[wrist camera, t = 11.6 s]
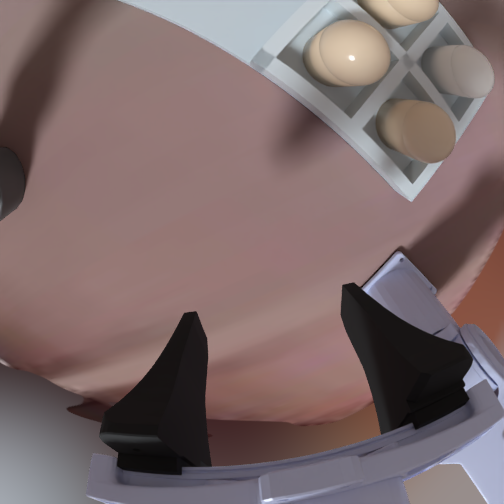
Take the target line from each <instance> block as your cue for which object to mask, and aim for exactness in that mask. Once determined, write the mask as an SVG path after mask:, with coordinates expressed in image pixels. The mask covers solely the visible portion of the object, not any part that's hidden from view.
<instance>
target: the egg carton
mask: <svg viewBox="0 0 504 504" xmlns="http://www.w3.org/2000/svg"><path fill="white" fill-rule="evenodd" d="M118 1H121V2H123V3H126V4H129V5H132V6H134V7H137V8H139V9H142V10H144V11H147V12H149V13H151V14H154V15H156V16H158V17H161V18H163V19H165V20H167V21H169V22H172V23H174V24H176V25H178V26H180V27H182V28H184V29H186V30H188V31H190V32H192V33H194V34H196V35H197V36H199V37H201V38H203V39H205V40H207V41H209V42H210V43H212V44H214V45H216V46H217V47H219V48H221V49H222V50H224V51H226V52H228V53H229V54H231V55H232V56H234V57H236V58H237V59H239V60H241V61H242V62H244V63H245V64H247V65H248V66H250V67H251V68H253V69H254V70H256V71H257V72H259V73H260V74H262V75H263V76H265V77H266V78H268V79H269V80H270V81H272V82H273V83H275V84H276V85H277V86H279V87H280V88H282V89H283V90H284V91H286V92H287V93H288V94H290V95H291V96H292V97H294V98H295V99H296V100H298V101H299V102H300V103H301V104H303V105H304V106H305V107H306V108H308V109H309V110H310V111H311V112H313V113H314V114H315V115H316V116H317V117H319V118H320V119H321V120H322V121H323V122H325V123H326V124H327V125H328V126H329V127H330V128H332V129H333V130H334V131H335V132H336V133H337V134H338V135H339V136H341V137H342V138H343V139H344V140H345V141H346V142H347V143H348V144H349V145H350V146H351V147H353V148H354V149H355V150H356V151H357V152H358V153H359V154H360V155H361V156H362V157H363V158H364V159H365V160H366V161H367V162H368V163H369V164H370V165H371V166H372V167H373V168H374V169H375V170H376V171H377V172H378V173H379V174H380V175H381V176H382V177H383V178H384V179H385V180H386V181H387V183H388V184H389V185H390V186H391V187H392V188H393V189H394V190H395V191H396V192H398V193H399V194H400V195H402V196H403V197H405V198H406V199H408V200H409V201H411V202H412V201H413V200H414V198H415V197H416V196H417V195H418V193H419V192H420V191H421V190H422V188H423V187H424V186H425V184H426V183H427V182H428V181H429V179H430V178H431V177H432V175H433V174H434V173H435V171H436V170H437V169H438V167H439V166H440V165H441V163H442V162H443V161H444V160H443V161H441V162H438V163H432V164H430V163H423V162H420V161H418V160H415V159H413V158H411V157H408V156H406V155H404V154H401V153H399V152H397V151H394V150H392V149H390V148H388V147H387V146H385V145H384V144H383V143H382V141H381V140H380V138H379V136H378V134H377V130H376V115H377V112H378V110H379V108H380V107H381V105H382V104H383V103H384V102H386V101H387V100H389V99H393V98H400V99H410V100H418V101H426V102H430V103H433V104H436V105H438V106H439V107H441V108H442V109H443V110H444V111H445V112H446V113H447V114H448V115H449V116H450V118H451V120H452V122H453V124H454V127H455V131H456V142H457V141H458V140H459V138H460V137H461V135H462V134H463V132H464V131H465V129H466V128H467V126H468V125H469V123H470V122H471V120H472V119H473V117H474V116H475V114H476V112H477V111H478V109H479V108H480V106H481V104H482V103H483V101H484V100H485V98H486V96H487V95H486V96H485V97H482V98H468V97H462V96H456V95H448V94H441V93H439V92H438V90H437V89H436V88H435V86H434V85H433V84H432V82H431V81H430V80H429V78H428V77H427V76H426V75H425V73H424V72H423V71H422V66H421V59H422V55H423V53H424V51H425V50H426V49H427V48H429V47H435V46H447V45H468V46H471V47H473V45H472V44H471V43H470V41H469V40H468V38H467V37H466V35H465V34H464V33H463V31H462V30H461V28H460V27H459V26H458V24H457V23H456V22H455V20H454V19H453V18H452V17H451V15H450V14H449V13H448V12H447V10H446V9H445V8H444V7H443V6H442V5H441V3H440V2H439V7H438V10H437V12H436V14H435V15H434V16H433V17H432V18H431V19H429V20H427V21H424V22H420V23H416V24H411V25H408V26H404V27H400V28H396V29H385V28H383V27H382V26H381V25H380V24H379V23H378V22H377V21H376V20H375V19H373V18H372V17H371V16H370V15H369V14H368V13H367V12H366V11H365V10H363V9H362V8H361V7H360V6H359V5H358V2H357V0H118ZM347 19H352V20H358V21H362V22H365V23H367V24H369V25H371V26H373V27H374V28H375V29H377V30H378V31H379V32H380V33H381V34H382V35H383V37H384V38H385V40H386V41H387V43H388V46H389V49H390V54H391V61H390V66H389V68H388V70H387V72H386V74H385V75H384V76H383V77H382V78H381V79H380V80H378V81H377V82H375V83H373V84H370V85H365V86H349V87H329V86H325V85H323V84H321V83H319V82H317V81H316V80H315V79H314V78H312V77H311V75H310V74H309V73H308V72H307V70H306V68H305V66H304V63H303V58H302V52H303V48H304V45H305V44H306V42H307V41H308V40H309V39H310V38H311V37H312V36H314V35H315V34H317V33H318V32H320V31H321V30H323V29H324V28H326V27H327V26H329V25H330V24H332V23H334V22H337V21H340V20H347ZM494 83H495V82H494ZM456 142H455V144H456Z"/></svg>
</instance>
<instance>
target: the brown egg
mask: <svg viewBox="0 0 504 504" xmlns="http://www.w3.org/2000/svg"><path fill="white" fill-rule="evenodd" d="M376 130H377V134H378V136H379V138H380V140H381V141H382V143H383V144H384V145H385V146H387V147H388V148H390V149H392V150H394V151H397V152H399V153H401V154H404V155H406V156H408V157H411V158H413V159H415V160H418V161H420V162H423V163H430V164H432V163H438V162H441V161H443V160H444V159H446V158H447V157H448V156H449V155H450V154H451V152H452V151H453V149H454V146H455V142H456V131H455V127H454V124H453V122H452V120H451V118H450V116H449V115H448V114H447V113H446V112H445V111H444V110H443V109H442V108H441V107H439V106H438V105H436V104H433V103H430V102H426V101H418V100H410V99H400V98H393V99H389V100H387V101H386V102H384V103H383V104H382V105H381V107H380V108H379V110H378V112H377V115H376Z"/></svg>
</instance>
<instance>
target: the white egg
mask: <svg viewBox="0 0 504 504" xmlns="http://www.w3.org/2000/svg"><path fill="white" fill-rule="evenodd" d="M421 66H422V71H423V72H424V73H425V75H426V76H427V77H428V78H429V80H430V81H431V82H432V84H433V85H434V86H435V88H436V89H437V90H438V92H439V93H441V94H448V95H456V96H462V97H468V98H482V97H485V96H486V95H488V94H489V93H490V92H491V90H492V88H493V86H494V81H495V77H494V71H493V68H492V66H491V64H490V62H489V60H488V59H487V58H486V57H485V55H484V54H482V53H481V52H480V51H479V50H477V49H476V48H474V47H471V46H468V45H447V46H435V47H429V48H427V49H426V50H425V51H424V53H423V55H422V59H421Z"/></svg>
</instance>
